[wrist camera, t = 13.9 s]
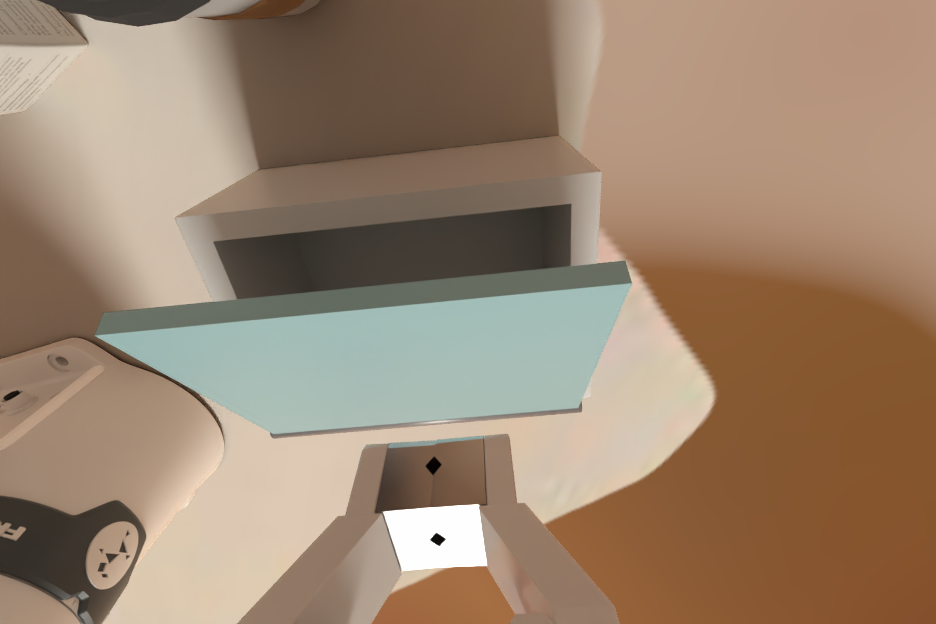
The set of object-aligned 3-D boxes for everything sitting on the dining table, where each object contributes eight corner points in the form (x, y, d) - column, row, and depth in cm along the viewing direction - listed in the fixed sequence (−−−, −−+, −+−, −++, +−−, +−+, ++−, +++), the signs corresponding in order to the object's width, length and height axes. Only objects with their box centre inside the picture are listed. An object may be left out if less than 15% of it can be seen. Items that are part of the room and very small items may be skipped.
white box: (315, 337, 32) (269, 426, 25) (258, 169, 26) (174, 217, 19) (558, 314, 32) (590, 398, 24) (559, 135, 26) (601, 171, 18)
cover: (279, 422, 24) (277, 440, 24) (99, 310, 14) (86, 339, 13) (576, 396, 24) (580, 414, 23) (631, 257, 13) (639, 285, 12)
